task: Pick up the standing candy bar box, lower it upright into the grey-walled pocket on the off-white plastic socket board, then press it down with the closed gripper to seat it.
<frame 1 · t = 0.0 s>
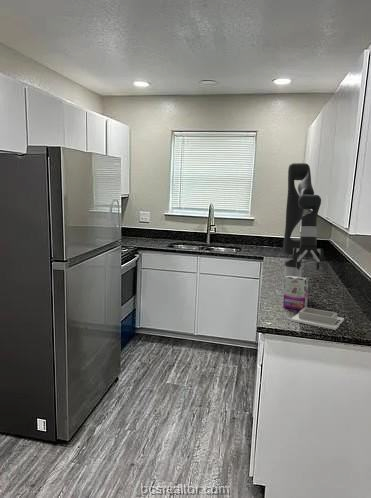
hand: (307, 269, 180), 22 cm above the worktop, tool pointing down, fingers open, 8 cm apart
socket board: (317, 320, 174), on the worktop
candy bar box: (294, 308, 193), on the worktop
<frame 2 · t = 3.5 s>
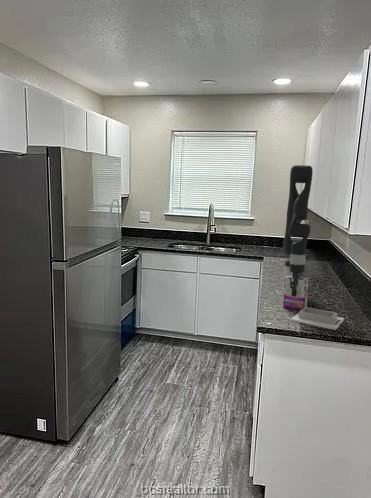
hand: (295, 294, 192), 7 cm above the worktop, tool pointing down, fingers closed on candy bar box, 5 cm apart
candy bar box: (294, 308, 193), on the worktop, touching gripper
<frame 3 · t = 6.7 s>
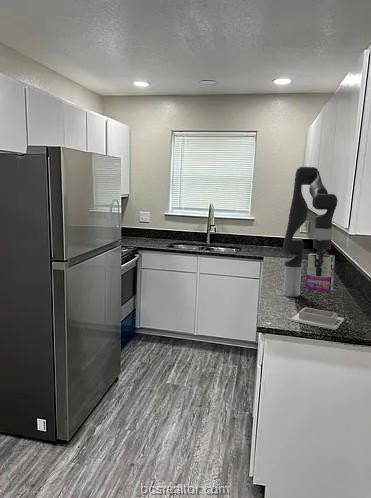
hand: (320, 274, 171), 22 cm above the worktop, tool pointing down, fingers closed on candy bar box, 5 cm apart
candy bar box: (319, 290, 172), point 15 cm above the worktop, touching gripper
when the fingers open (9 cm above the worktop, at t = 10.1 s): candy bar box drops 1 cm, resting on socket board.
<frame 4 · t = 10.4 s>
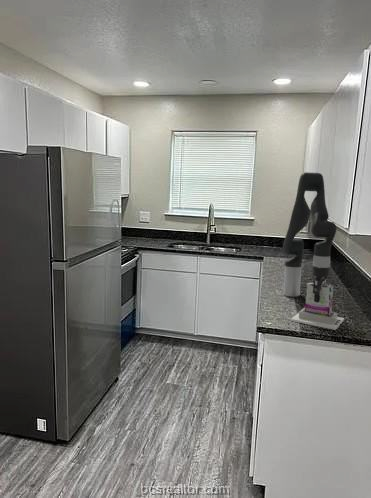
hand: (318, 300, 173), 10 cm above the worktop, tool pointing down, fingers open, 7 cm apart
candy bar box: (317, 318, 174), point 1 cm above the worktop, touching socket board
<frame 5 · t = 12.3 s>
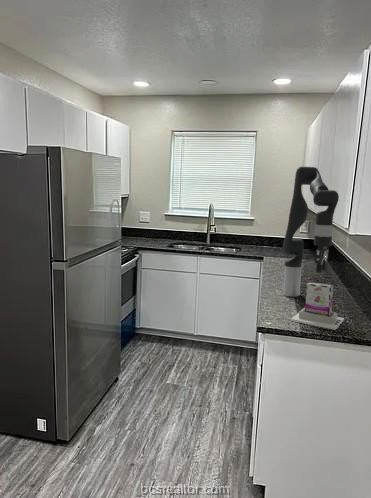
hand: (320, 271, 171), 24 cm above the worktop, tool pointing down, fingers open, 6 cm apart
nothing on the worktop moved.
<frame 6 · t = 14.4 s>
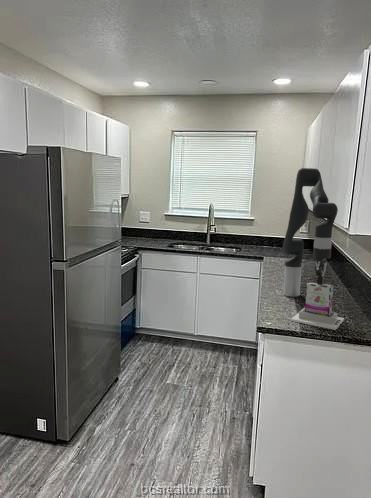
hand: (320, 284, 172), 17 cm above the worktop, tool pointing down, fingers closed
candy bar box: (317, 318, 174), point 1 cm above the worktop, touching gripper, socket board
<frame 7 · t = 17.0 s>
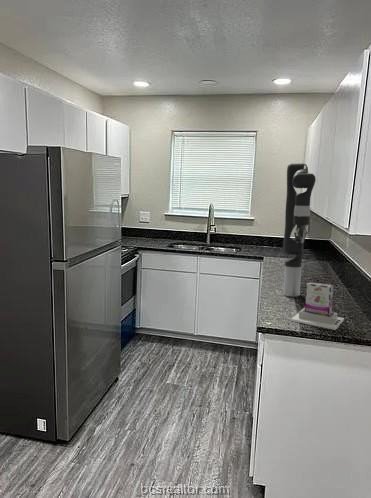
hand: (299, 250, 184), 31 cm above the worktop, tool pointing down, fingers closed
candy bar box: (317, 318, 174), point 1 cm above the worktop, touching socket board
at the end: candy bar box 0.3 cm off-centre on the socket board, point 0.8 cm above the socket board's base; candy bar box tilted 0°; the gripper is holding nothing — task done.
